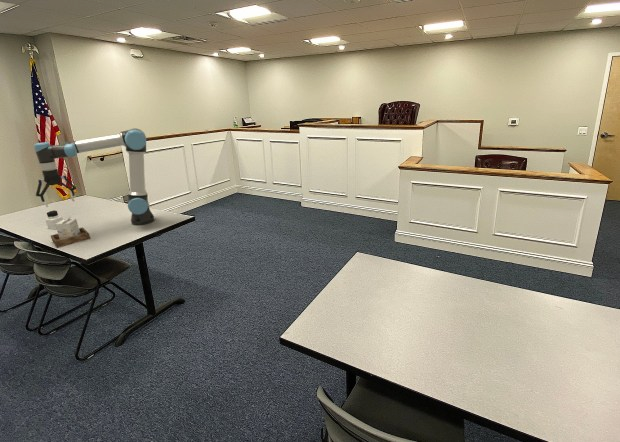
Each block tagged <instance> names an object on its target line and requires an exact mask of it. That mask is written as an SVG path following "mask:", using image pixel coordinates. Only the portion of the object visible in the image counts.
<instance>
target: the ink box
mask: <svg viewBox="0 0 620 442" xmlns="http://www.w3.org/2000/svg"><path fill="white" fill-rule="evenodd" d="M55 226H56V229H55V230H56V231H57V234H58V235H59V238H60V240H62V239H65V238H69V237H73V236H77V235H81V233H80V230H79V228H80V226H79V224H78V220H77V219H76V218H72V217H71V216H69V217H68V218H66V219H63V220H62V221H60V222H58V223H56V224H55Z"/></svg>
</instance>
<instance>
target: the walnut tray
mask: <svg viewBox="0 0 620 442" xmlns="http://www.w3.org/2000/svg"><path fill="white" fill-rule="evenodd" d="M79 230H80V233H81V235H77V236H73V237H69V238H65V239H62V240H60V238H59V235H58V233H55V234H51V235H50V239H51V241H53V242H52V243H53V245H54V246H55V247H56V249H58V248H61V247H64V246H69V245H72V244H75V243H79V242H83V241H84V242H85V241H87V240H90V239H91V236H90V233H89V231H87V230H86V229H85V228H84V227H79Z"/></svg>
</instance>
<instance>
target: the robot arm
mask: <svg viewBox="0 0 620 442" xmlns="http://www.w3.org/2000/svg"><path fill="white" fill-rule="evenodd" d="M121 146H124V147H125V151H126V153H128V166H129V168H128V171H129V188H130V190H128V191H127V192H126V193H127V196H126V197H127V209H128V210H129V212H130V213H131V217H130V222H131V224H132V225H133V226H142V225H148V224H150V223H152V222H154V221H155V220H156V219H155V215H154V214H153V212H152V211H151V209H150V205H149V199H148V192H147V191H146V185H145V184H146V183H145V156H144V155H145V154H146V153H147V136H146V133H145V132H144V131H143V130H142V129H139V128H134V127H133V128H130V129H127V130H123V131H120V132H119V133H115V134H108V135H104V136H97V137H92V138H85V139H79V140H72V141H65V142H63V143H61V144H55V145H52V144H50V142H48V141H46V142H37V143H35V144H33V147H34V151H35V153H36V157H37V161H38V163H39V167H40V169H41V172H42V175H43V179H39V178H38V180H37V181H38V182H37V183H38V184H37V188H36V192H35V196H36V197H40V200H41V202H42V203H44V204H45V207H46V208H48V207H49V206H48V202H47V200H46V196H45V193H46V192H47V190H48V188H49V187H50V186H55V185H56V186H57V185H61V186H63V187H64V188H65V189H68V190H69V191H68V192H69V195H70V198H71V202H73V203H74V202H75V199H74V196H75V190H77V187H76V186H75V185H74V184H73V183H72V182H71V181H70V180H69V179H68V177H67V176H66V175H65V174H64V175H61V176H60V174H59V170H58V169H57V168H58V166H57V163H56V161H55V159H63V158H72V157H73V158H74V157H77V155H78V154H81V153H87V152H93V151H97V150H104V149H110V148H116V147H121ZM61 179H62V180H65V182H66V183H68V185H70V186H68V185H67V184H65V183H64V182H62V181H61ZM44 182H45V186H44V187H43V189H42V191H41V188H42V185H43V183H44Z"/></svg>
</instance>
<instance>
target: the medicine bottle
mask: <svg viewBox="0 0 620 442" xmlns="http://www.w3.org/2000/svg"><path fill="white" fill-rule="evenodd" d="M46 216H47V218H45V219H44V220H45V223H46V226H47V229H48V230H57V229H56V226H55V224H56V223H58V222H60V221H62V220H64V218H63V217H62V216H60V215H59V213H58V211H57V210H49V211H47V212H46Z"/></svg>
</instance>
